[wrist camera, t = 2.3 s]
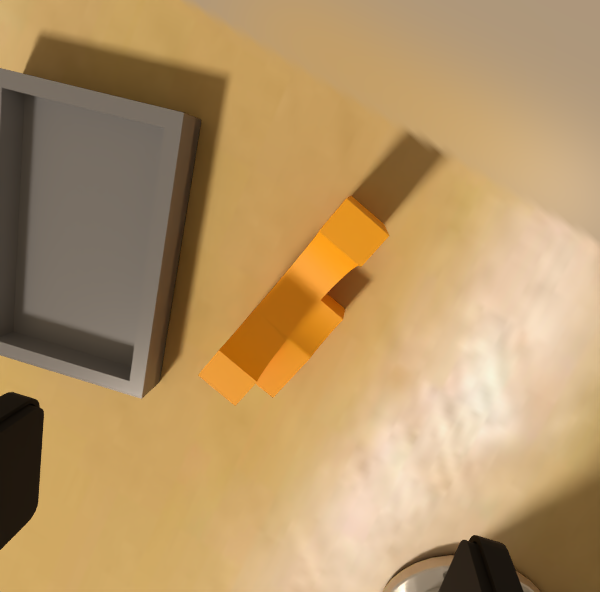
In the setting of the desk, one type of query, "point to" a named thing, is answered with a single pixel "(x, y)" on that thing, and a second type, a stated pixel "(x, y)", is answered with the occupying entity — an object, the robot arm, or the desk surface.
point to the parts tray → (90, 229)
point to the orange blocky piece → (296, 308)
